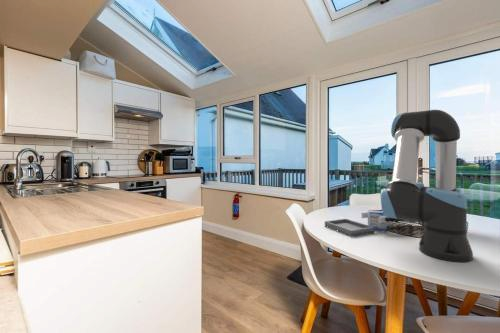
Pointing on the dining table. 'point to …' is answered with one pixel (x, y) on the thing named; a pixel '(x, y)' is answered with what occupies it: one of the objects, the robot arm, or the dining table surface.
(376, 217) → the medicine box
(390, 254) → the dining table surface
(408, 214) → the robot arm
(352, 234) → the parts tray
